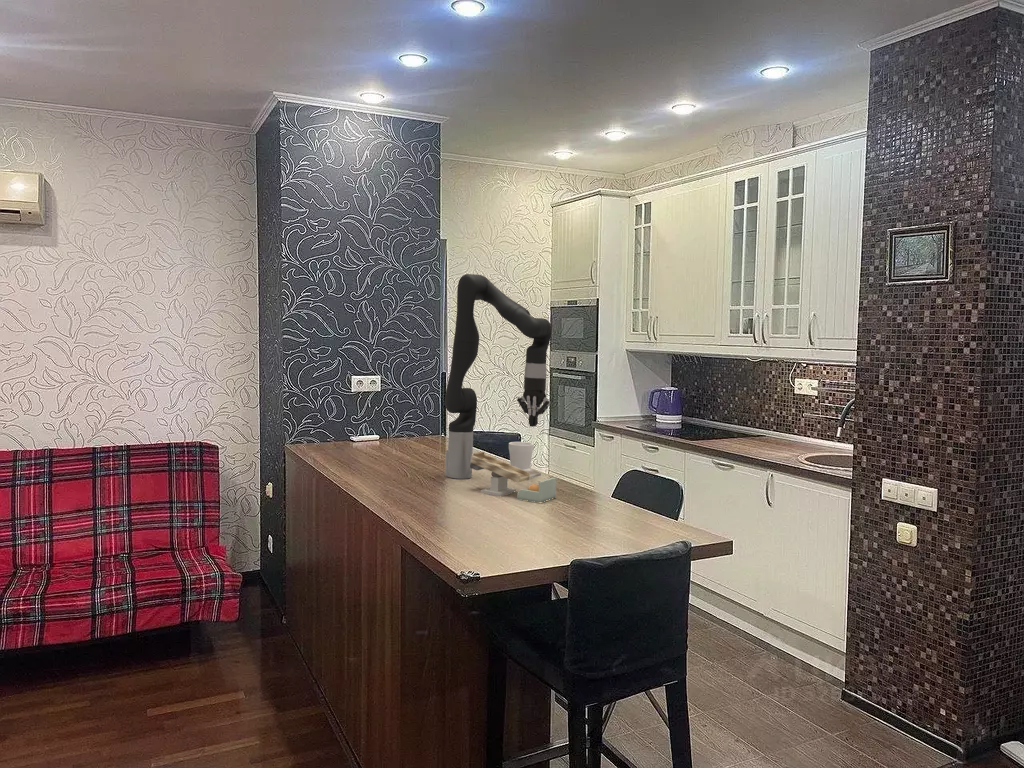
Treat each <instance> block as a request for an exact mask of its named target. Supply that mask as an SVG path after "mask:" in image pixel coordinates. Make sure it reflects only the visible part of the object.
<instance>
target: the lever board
mask: <svg viewBox="0 0 1024 768" xmlns="http://www.w3.org/2000/svg"><path fill="white" fill-rule="evenodd" d="M470 462H471V465H470V468H472V470H474V471H480V470H487V471H489V472H490V473H491V477H493V476H497V475H501V476H503V477H505V478H508V480H511V481H512V482H515V483H517V484H519V483H522V482H525V481H528V480H530V479H531V480H532V479H534V478H538V477H541V476H542V473H541V472H540V471H536V470H534V469H532V468H531V467H530V468H528V469H524V470H522V469H519V468H517V467H514V466H512V465H511V464H510V463H507V462H505V461H502V460H500V459H498V458H495V457H493V456H490V455H488V454H485V452H484V451H477V452H474V453H473V455H472V457H471V461H470Z"/></svg>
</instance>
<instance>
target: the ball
mask: <svg viewBox="0 0 1024 768" xmlns="http://www.w3.org/2000/svg"><path fill="white" fill-rule="evenodd" d="M538 485H539V484H536V483H533V484H530V485H529V486H528V488H527V489H528V490H531V491H537V492H539V486H538Z"/></svg>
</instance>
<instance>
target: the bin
mask: <svg viewBox="0 0 1024 768" xmlns="http://www.w3.org/2000/svg"><path fill="white" fill-rule="evenodd" d="M537 485H538V486H539V492H537V491H531V490H528V488H526V489H523V488H520V489H519V491H516V492H517V495H516V499H522V500H521V501H523V500H528V501H527V502H529V501H535V502H544V501H546V500H549V499H552V498H555V497H556V496H557V477H550V478H547V479H544V480H541V481H539V482H538V484H537ZM556 498H557V497H556ZM544 503H545V502H544Z"/></svg>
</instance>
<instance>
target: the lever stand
mask: <svg viewBox="0 0 1024 768" xmlns="http://www.w3.org/2000/svg"><path fill="white" fill-rule="evenodd" d="M508 481H509V479H508V478H505V477H503V476H501V475H497V476H490V487H488V488H484V489H481V490H480V493H481V494H483V493H484V494H485V495H489V494H490V495H491V496H494V497H495V496H496V497H500V496H501V497H503V496H507V495H510V494H509V493H511V494H513V493H512V492H514V491H516V492H517V488H515V487H513V488H512V487H508ZM514 493H515V492H514ZM484 494H483V495H484ZM506 494H507V495H506ZM490 495H489V496H490Z"/></svg>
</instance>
